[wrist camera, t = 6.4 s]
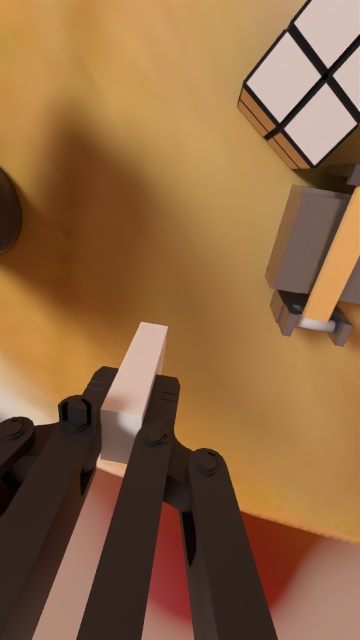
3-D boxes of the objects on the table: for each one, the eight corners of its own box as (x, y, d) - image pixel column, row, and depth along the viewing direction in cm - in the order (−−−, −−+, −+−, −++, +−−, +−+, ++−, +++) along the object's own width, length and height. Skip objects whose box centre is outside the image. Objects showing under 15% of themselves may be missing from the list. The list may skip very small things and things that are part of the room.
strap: (289, 321, 39) (292, 327, 37) (344, 183, 30) (350, 185, 29) (327, 328, 39) (331, 335, 37) (394, 192, 30) (402, 194, 28)
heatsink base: (256, 303, 45) (264, 331, 37) (299, 160, 36) (322, 157, 28) (335, 317, 44) (361, 350, 36) (399, 176, 35) (451, 179, 27)
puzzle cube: (307, 15, 30) (344, -49, 21) (366, 94, 32) (420, 66, 23) (235, 106, 34) (240, 84, 25) (291, 170, 36) (314, 171, 28)
